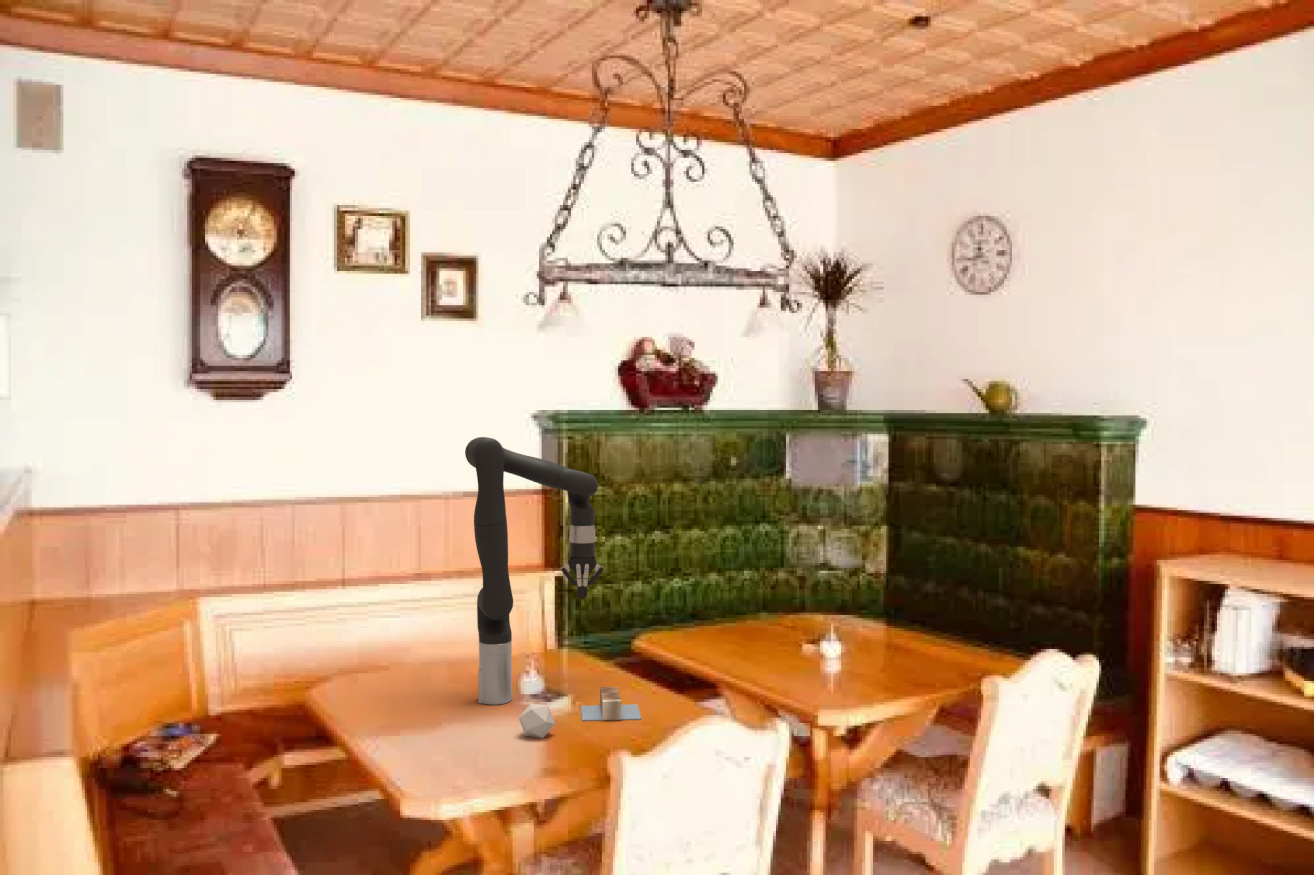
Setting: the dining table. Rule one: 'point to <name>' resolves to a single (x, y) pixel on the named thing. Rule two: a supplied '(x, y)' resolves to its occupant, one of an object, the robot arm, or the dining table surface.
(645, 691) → the dining table surface
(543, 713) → the die
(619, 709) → the block
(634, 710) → the board
